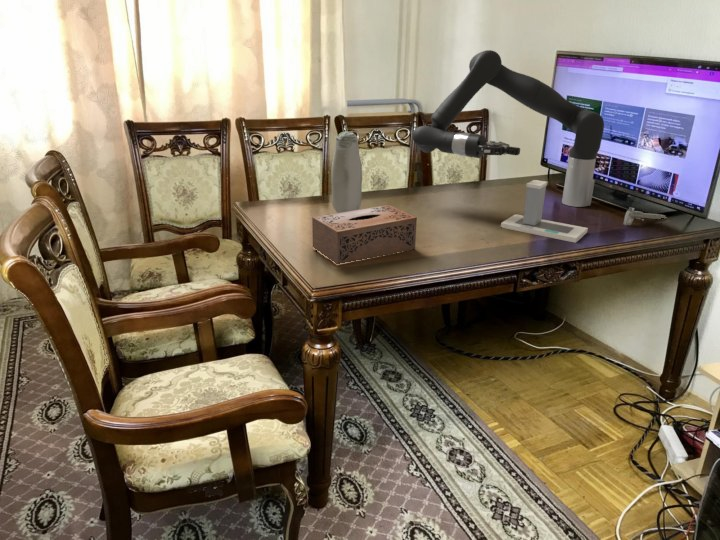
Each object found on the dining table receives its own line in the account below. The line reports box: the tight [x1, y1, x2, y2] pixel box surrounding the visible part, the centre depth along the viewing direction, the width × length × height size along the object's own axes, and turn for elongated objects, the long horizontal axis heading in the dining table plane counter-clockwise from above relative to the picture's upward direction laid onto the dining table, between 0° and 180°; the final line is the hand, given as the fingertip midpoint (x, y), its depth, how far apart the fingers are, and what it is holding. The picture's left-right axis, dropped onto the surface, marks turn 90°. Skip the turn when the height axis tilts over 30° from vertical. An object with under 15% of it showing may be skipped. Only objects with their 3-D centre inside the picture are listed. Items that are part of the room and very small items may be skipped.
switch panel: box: [500, 213, 589, 244], centre depth 187 cm, size 24×12×2 cm, turn 55°
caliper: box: [623, 206, 668, 227], centre depth 196 cm, size 20×1×6 cm, turn 117°
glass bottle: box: [330, 130, 363, 213], centre depth 194 cm, size 10×10×28 cm
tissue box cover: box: [311, 204, 418, 264], centre depth 167 cm, size 26×14×10 cm, turn 121°
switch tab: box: [522, 179, 548, 226], centre depth 186 cm, size 4×6×13 cm
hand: (519, 151), depth 184 cm, fingers closed
